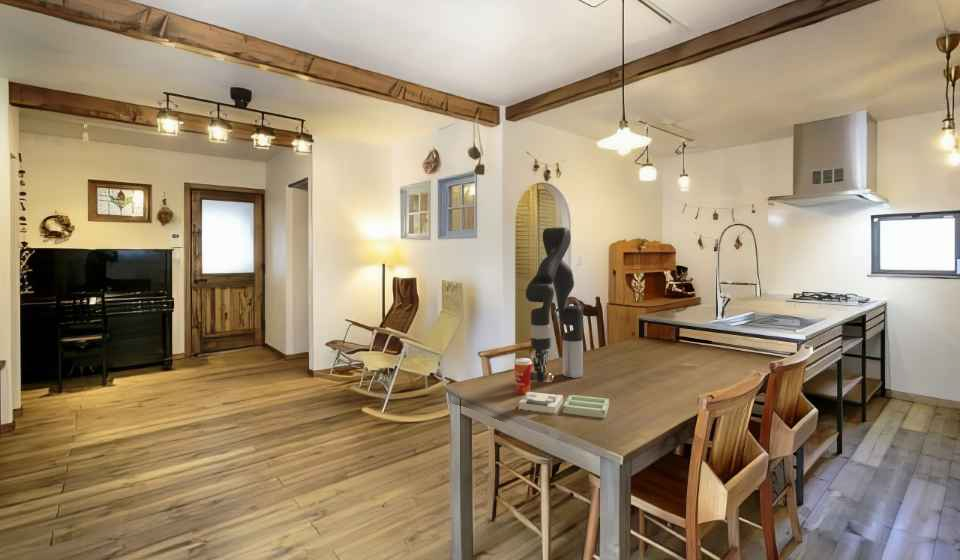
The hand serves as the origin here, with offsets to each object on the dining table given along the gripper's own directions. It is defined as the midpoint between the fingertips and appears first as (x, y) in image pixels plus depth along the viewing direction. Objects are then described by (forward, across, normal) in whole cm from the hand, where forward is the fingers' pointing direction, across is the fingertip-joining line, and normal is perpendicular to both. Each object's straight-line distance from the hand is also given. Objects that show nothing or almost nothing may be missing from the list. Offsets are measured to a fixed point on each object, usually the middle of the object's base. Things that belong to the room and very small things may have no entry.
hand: (541, 379), depth 175 cm
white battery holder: (+10, 0, 0) cm, 10 cm away
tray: (+10, -1, +17) cm, 20 cm away
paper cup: (+10, -13, -11) cm, 20 cm away
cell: (0, 0, 0) cm, 1 cm away
